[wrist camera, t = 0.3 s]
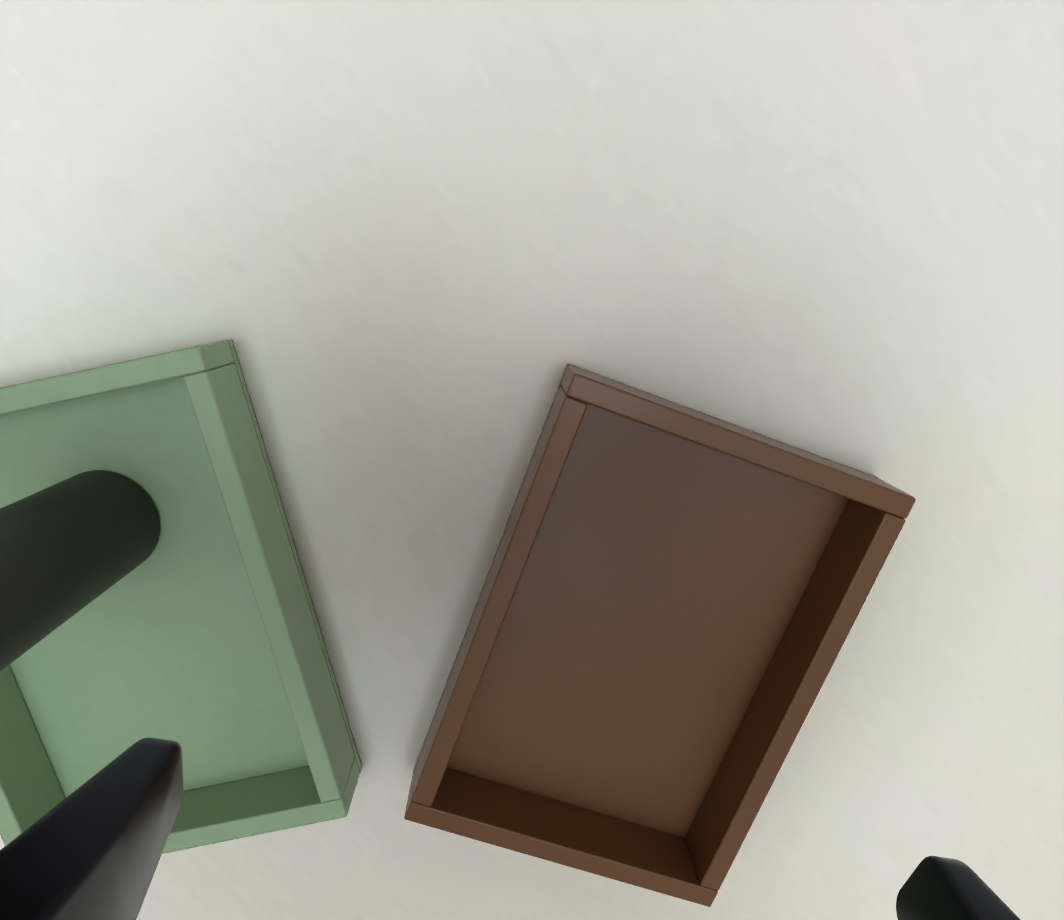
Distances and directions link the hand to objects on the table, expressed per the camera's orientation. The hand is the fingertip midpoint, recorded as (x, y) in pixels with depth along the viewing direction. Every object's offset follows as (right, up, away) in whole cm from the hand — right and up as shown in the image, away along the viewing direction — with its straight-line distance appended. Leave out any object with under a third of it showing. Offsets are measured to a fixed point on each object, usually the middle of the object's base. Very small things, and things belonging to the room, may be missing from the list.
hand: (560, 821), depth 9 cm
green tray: (-13, 0, +16) cm, 20 cm away
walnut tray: (+3, -2, +16) cm, 17 cm away
